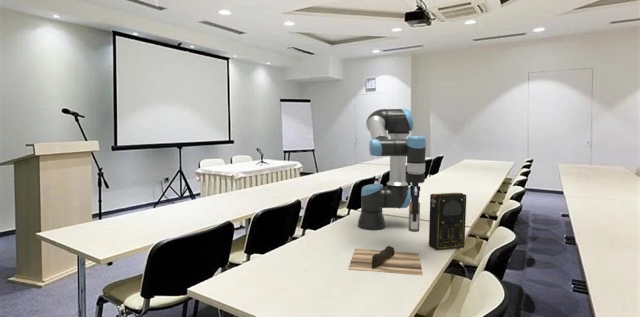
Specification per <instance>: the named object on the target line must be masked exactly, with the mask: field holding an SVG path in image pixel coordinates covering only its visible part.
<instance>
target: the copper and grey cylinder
mask: <svg viewBox="0 0 640 317" xmlns="http://www.w3.org/2000/svg"><path fill="white" fill-rule="evenodd" d="M408 207H409V208H408V232H412V233H418V232H420V217H421V215H420V213H421V212H420V210H421V203H420V202H419V206H418V212H419V213H418V229H411V214H410V212H412V202H411V201H410V202H409V206H408Z"/></svg>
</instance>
